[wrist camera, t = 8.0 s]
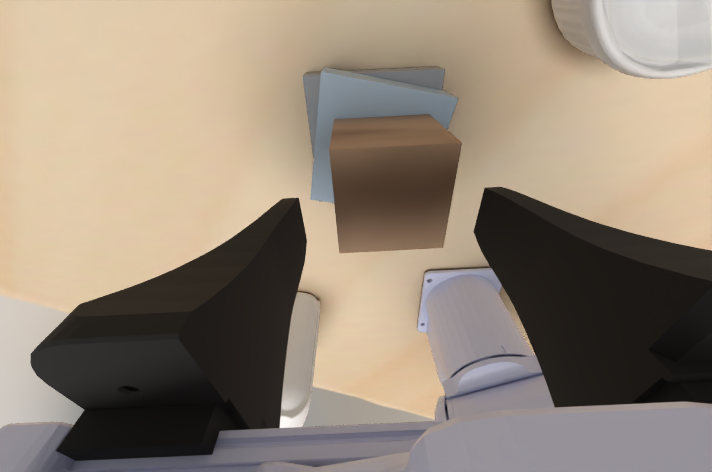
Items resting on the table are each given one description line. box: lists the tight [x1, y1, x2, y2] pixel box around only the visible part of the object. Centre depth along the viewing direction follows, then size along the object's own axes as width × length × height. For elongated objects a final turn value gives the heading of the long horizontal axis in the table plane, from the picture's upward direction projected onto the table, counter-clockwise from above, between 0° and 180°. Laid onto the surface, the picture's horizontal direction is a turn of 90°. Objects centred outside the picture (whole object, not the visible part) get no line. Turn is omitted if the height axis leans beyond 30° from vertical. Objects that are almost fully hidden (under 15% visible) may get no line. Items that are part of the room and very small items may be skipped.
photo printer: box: [280, 292, 320, 428], centre depth 26 cm, size 10×4×12 cm, turn 160°
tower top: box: [311, 67, 458, 203], centre depth 17 cm, size 7×7×2 cm
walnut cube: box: [329, 114, 462, 253], centre depth 14 cm, size 5×5×5 cm
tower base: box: [303, 66, 445, 157], centre depth 19 cm, size 8×8×2 cm
